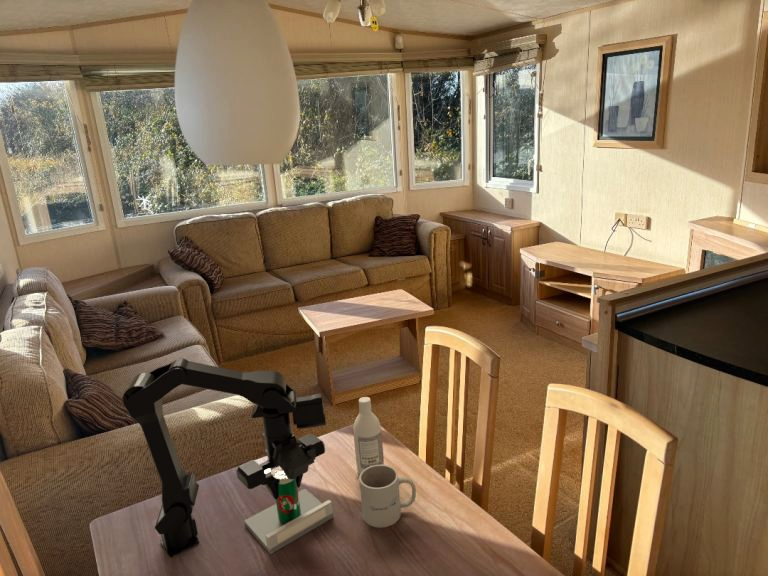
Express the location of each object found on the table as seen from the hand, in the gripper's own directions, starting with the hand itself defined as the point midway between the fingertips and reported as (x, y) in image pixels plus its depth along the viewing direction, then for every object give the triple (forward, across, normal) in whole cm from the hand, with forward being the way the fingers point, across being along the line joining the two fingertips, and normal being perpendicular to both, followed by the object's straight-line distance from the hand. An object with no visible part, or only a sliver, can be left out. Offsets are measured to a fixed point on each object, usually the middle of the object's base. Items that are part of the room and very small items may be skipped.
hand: (286, 492), depth 122 cm
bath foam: (+8, +25, +3) cm, 27 cm away
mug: (+8, +18, -13) cm, 24 cm away
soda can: (+7, 0, 0) cm, 7 cm away
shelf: (+8, 0, +1) cm, 8 cm away
